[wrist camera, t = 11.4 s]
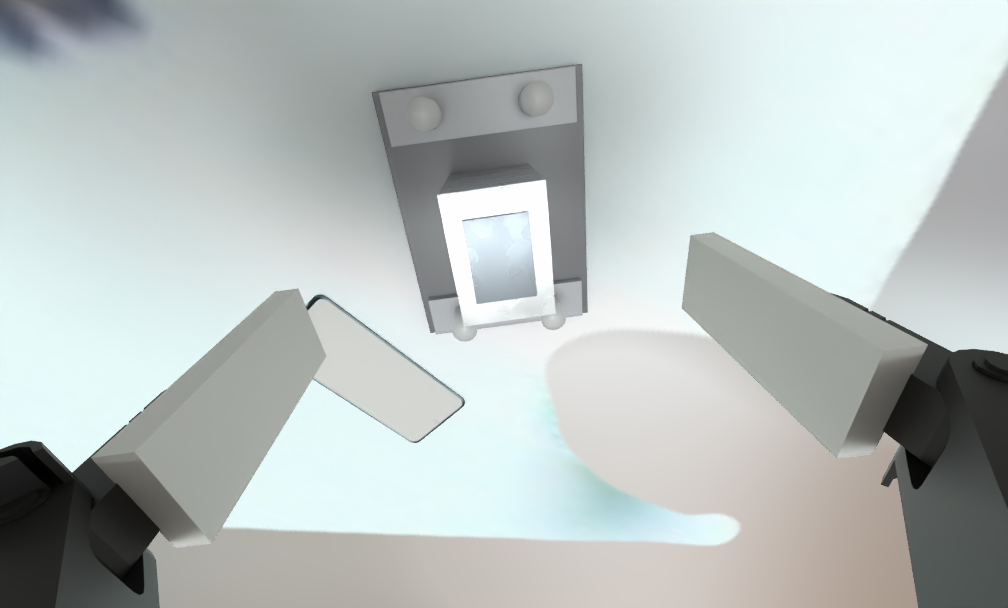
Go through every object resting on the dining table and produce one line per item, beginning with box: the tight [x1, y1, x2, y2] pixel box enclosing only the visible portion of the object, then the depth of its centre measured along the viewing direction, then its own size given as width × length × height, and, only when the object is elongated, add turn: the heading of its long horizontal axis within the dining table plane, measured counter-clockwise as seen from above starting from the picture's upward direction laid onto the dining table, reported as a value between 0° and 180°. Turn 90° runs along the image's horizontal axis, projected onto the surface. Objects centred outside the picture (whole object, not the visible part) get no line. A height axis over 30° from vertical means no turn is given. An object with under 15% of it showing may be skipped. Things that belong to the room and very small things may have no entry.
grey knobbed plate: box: [372, 64, 587, 341], centre depth 24 cm, size 16×12×4 cm
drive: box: [437, 163, 556, 327], centre depth 22 cm, size 7×5×7 cm
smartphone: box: [306, 295, 465, 443], centre depth 31 cm, size 7×1×15 cm
